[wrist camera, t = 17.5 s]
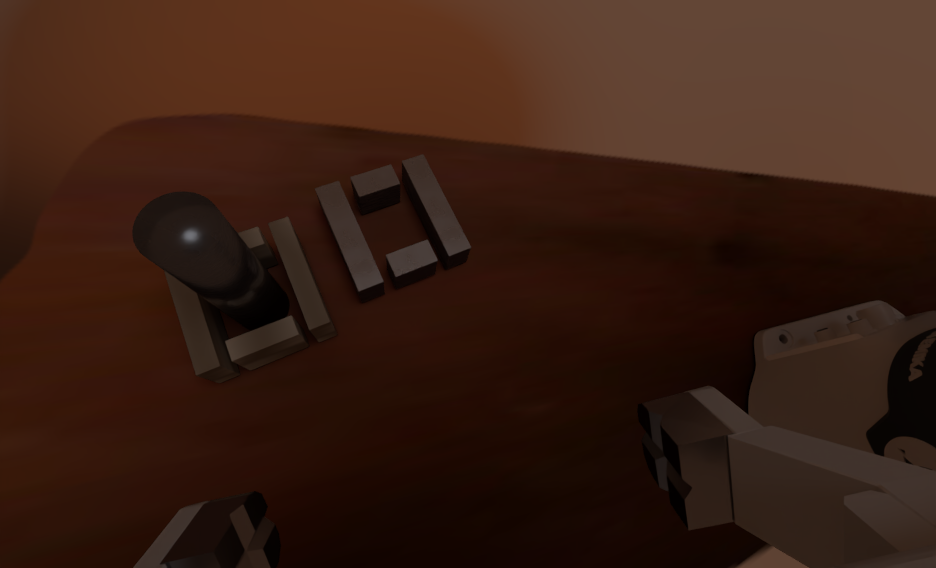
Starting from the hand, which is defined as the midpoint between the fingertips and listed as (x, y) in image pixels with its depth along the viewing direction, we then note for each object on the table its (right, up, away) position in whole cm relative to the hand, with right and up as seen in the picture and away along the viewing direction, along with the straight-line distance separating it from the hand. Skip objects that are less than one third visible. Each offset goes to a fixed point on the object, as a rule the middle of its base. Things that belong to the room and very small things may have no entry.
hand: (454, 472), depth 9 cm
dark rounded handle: (-16, +2, +26) cm, 30 cm away
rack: (-16, +2, +26) cm, 30 cm away
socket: (-6, +8, +29) cm, 31 cm away
